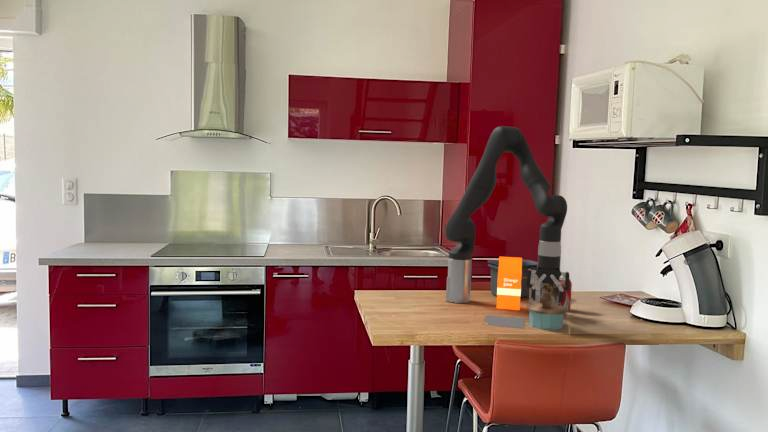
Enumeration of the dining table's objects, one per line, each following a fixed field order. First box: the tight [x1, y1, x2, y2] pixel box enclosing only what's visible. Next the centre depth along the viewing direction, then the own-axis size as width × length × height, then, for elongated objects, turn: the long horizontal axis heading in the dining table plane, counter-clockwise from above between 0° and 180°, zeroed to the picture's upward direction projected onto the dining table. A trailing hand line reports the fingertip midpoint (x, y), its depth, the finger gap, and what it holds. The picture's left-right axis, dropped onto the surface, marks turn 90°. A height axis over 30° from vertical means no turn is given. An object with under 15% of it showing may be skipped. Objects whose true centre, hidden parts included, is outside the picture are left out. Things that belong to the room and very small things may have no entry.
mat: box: [483, 314, 526, 329], centre depth 223 cm, size 14×14×1 cm
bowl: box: [528, 311, 564, 331], centre depth 219 cm, size 11×11×6 cm
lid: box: [526, 292, 567, 315], centre depth 218 cm, size 13×13×6 cm
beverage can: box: [558, 277, 573, 312], centre depth 245 cm, size 6×6×12 cm
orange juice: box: [495, 256, 523, 311], centre depth 244 cm, size 8×9×20 cm
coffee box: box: [528, 274, 559, 312], centre depth 237 cm, size 9×6×16 cm
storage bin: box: [487, 259, 538, 298], centre depth 268 cm, size 21×16×14 cm
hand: (546, 300), depth 218 cm, fingers open, 8 cm apart
